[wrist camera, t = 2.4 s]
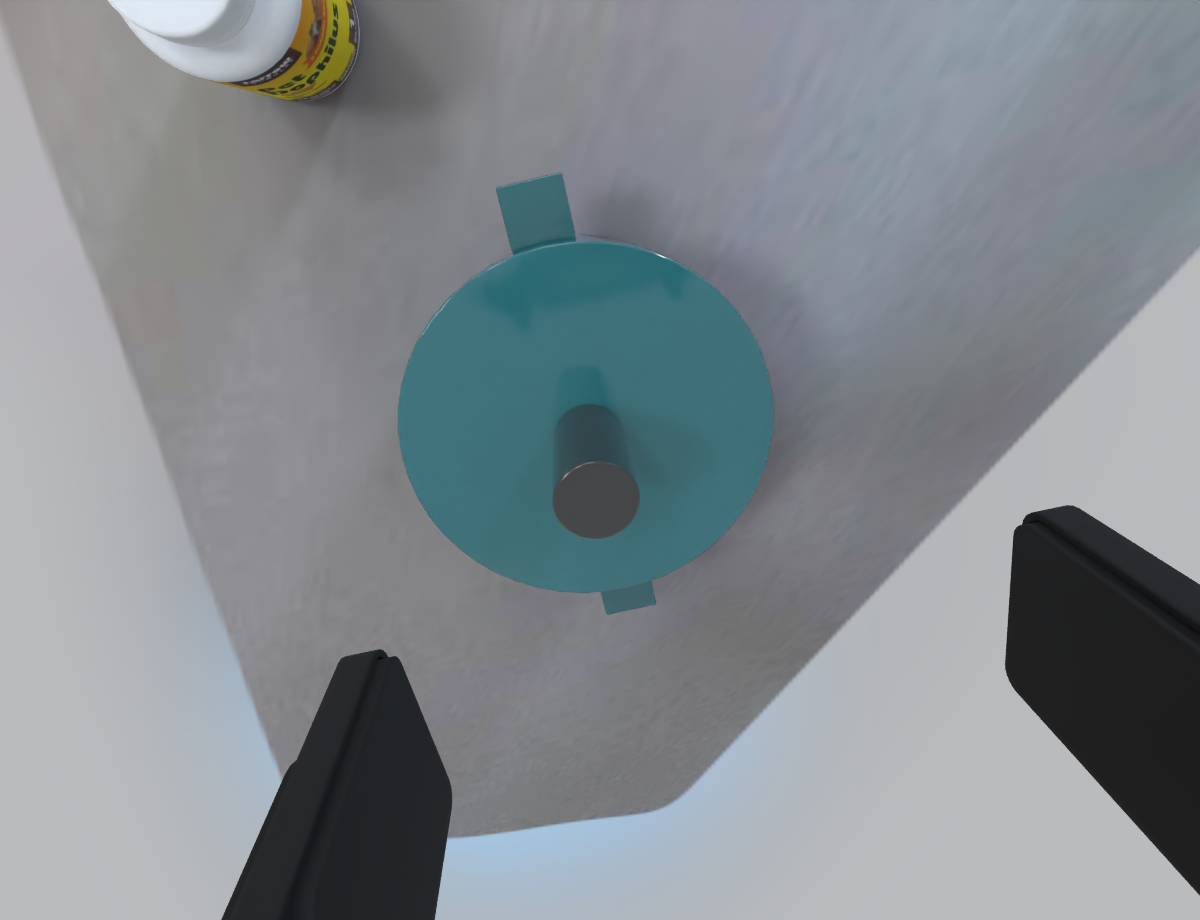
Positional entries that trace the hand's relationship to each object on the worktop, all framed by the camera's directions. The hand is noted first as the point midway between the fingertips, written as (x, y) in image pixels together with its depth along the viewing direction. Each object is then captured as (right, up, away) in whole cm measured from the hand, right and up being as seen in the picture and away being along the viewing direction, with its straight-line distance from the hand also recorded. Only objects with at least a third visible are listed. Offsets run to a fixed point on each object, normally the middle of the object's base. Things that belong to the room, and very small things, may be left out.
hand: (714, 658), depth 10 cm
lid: (-2, +4, +17) cm, 17 cm away
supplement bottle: (-14, +21, +17) cm, 30 cm away
